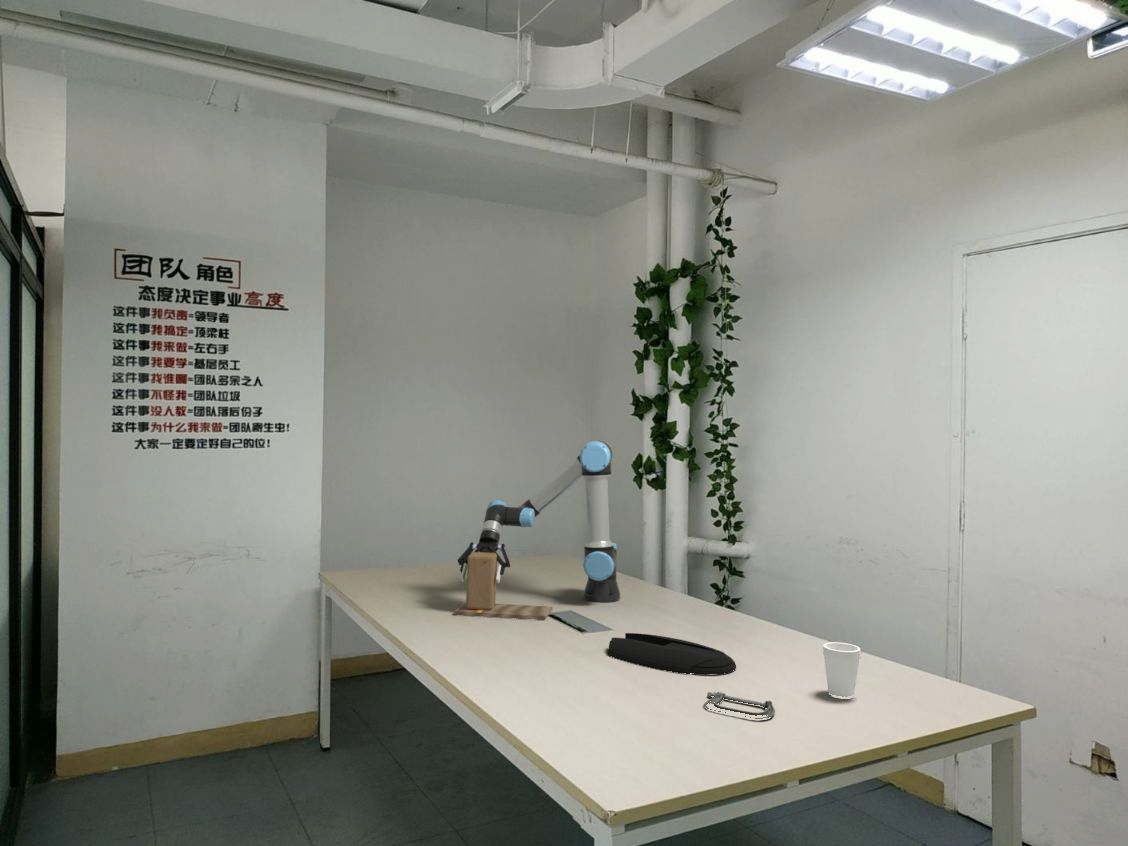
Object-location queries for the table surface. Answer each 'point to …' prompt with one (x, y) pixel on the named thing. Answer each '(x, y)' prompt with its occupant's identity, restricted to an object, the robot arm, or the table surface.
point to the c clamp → (719, 697)
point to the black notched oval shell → (670, 654)
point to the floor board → (508, 611)
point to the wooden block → (481, 581)
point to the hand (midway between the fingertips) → (479, 580)
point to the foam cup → (841, 667)
